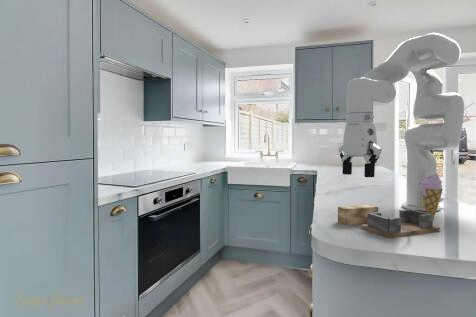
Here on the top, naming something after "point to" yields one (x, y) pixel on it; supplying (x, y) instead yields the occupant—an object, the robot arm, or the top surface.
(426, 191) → the ice cream cone
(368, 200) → the top surface
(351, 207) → the beige rectangular block
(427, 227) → the rail
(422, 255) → the top surface
